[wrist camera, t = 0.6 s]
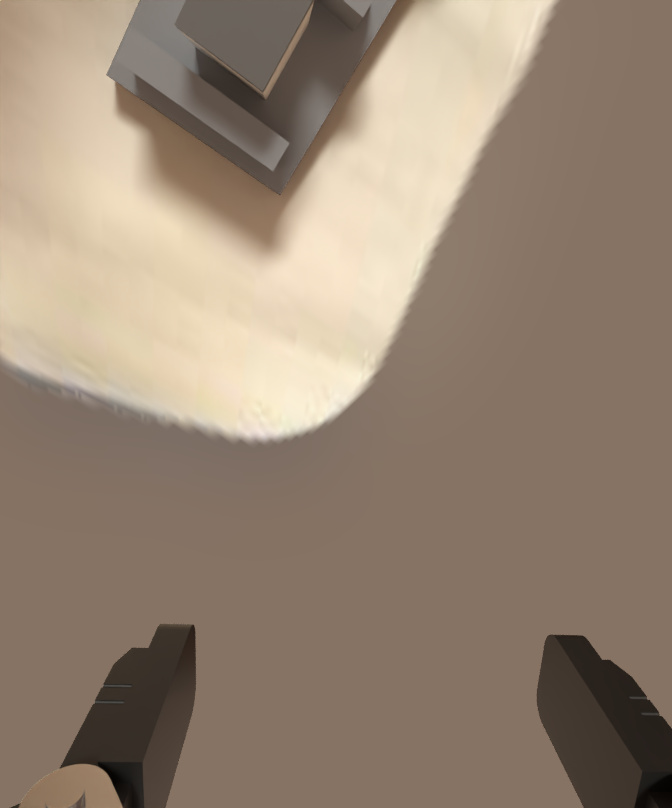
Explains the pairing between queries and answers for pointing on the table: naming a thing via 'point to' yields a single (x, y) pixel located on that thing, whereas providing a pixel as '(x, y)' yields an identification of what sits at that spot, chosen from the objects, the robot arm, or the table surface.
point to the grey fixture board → (234, 101)
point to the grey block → (246, 35)
